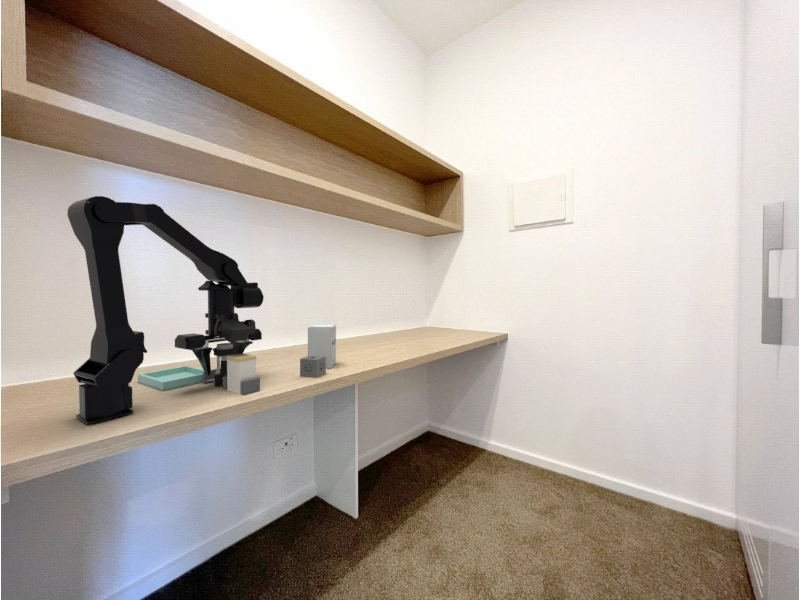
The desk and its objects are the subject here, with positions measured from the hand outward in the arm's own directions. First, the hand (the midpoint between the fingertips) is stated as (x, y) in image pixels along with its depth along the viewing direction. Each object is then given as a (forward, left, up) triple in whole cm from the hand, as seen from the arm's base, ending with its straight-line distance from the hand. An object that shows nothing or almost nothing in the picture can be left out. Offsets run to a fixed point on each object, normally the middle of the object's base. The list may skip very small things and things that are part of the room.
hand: (222, 372), depth 81 cm
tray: (-4, +13, -3) cm, 14 cm away
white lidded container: (0, -8, -3) cm, 9 cm away
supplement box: (+28, -6, -3) cm, 29 cm away
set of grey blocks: (0, -4, -3) cm, 5 cm away
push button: (0, 0, -3) cm, 3 cm away
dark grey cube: (+19, -12, -3) cm, 22 cm away
